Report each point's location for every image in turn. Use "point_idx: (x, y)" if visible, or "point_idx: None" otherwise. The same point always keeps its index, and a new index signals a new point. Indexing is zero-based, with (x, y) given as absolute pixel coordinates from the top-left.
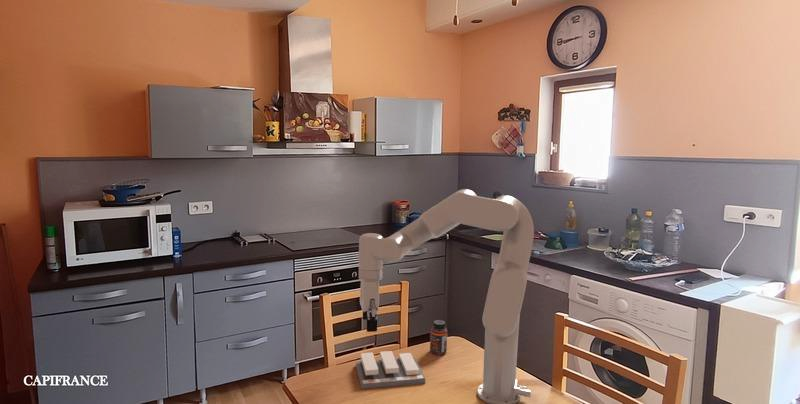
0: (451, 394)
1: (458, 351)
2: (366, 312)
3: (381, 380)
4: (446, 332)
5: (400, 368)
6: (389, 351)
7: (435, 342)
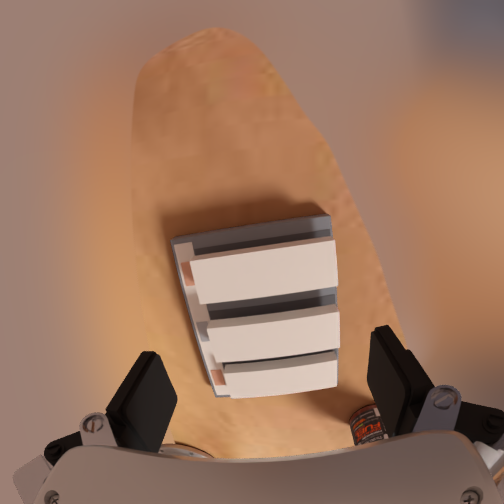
0: (176, 417)
1: None
2: (388, 385)
3: (193, 299)
4: None
5: None
6: (336, 341)
7: (361, 436)
